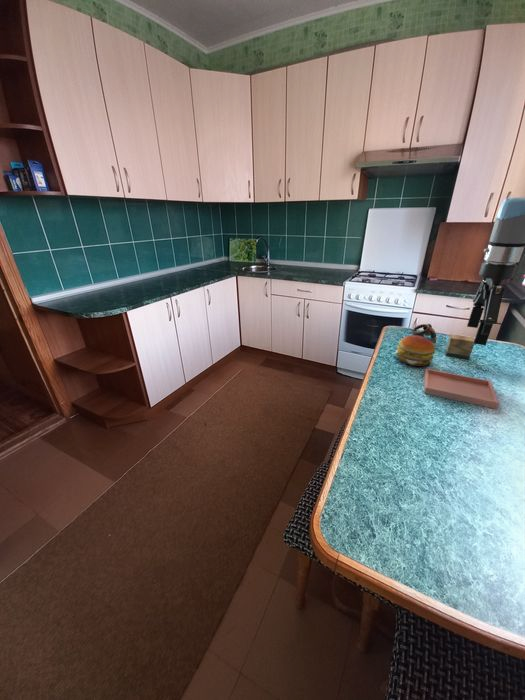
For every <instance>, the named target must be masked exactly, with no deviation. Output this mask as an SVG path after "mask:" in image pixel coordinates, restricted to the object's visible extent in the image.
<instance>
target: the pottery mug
mask: <svg viewBox="0 0 525 700" xmlns="http://www.w3.org/2000/svg"><path fill="white" fill-rule="evenodd" d="M420 329H422V331H418V330H420ZM411 332H412V334H411V336H415V335H416V336H422V337H425V336H429V337H430V339H432V340H433V344H436V343H437V334H436V331H435V329H434V328H433V326H432V324H430V323H422V324H418V325H416V326H415V327H413V329H412V330H411Z"/></svg>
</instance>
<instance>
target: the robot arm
mask: <svg viewBox="0 0 525 700" xmlns="http://www.w3.org/2000/svg"><path fill="white" fill-rule="evenodd" d="M524 249H525V196H524V197H523V196H521V197H507V198H505V199H504V200H502V202H501V203H500V206H499V208H498V210H497V214H496V216H495V220H494V224H493V226H492V230H491V234H490V238H489V240H488V245H487V248H484V249H483V253H484V257H483V260H484V261H483V262H482V263H481V266H480V269H479V272H478V274H479V276H480V278H482V280H481V282H480V285H479V287H478V289H477V291H476V293H475V296H474V298H473V299H472V302H473V303H472V305H473V307H472V309H471V312H470V315H469V318H468V322H467V325H466V327H467V328H473V329H477V331H476V334H475V337H474V345H480V346H486V345H487V343H488V339H489V337H490V334H491V331H492V328H493V326H494V325H497V323H498V318H499V314H500V310H501V306H502V305H501V304H502V300H503V295H504V292H505V290H506V286H505V285H502V284H503V281H504V280H511V279H513V278H514V276H515V273H516V270H517V268H518V265H517V263H519V262H520V260H521V257H522V254H523V252H524Z"/></svg>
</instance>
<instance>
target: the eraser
mask: <svg viewBox="0 0 525 700" xmlns="http://www.w3.org/2000/svg"><path fill="white" fill-rule="evenodd" d="M474 340H475V337H474V336H469V335H468V336H466V335H459V334H452V333H450V334H449V337H448V341H447V343H446V346H445V347H446V348H445V351H444V352H445V356H446V357H450V358H457V359H463V360H467V361H469V360H470V358H471V354H472V352H473V349H474V346H475V344H474Z"/></svg>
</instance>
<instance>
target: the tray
mask: <svg viewBox="0 0 525 700" xmlns="http://www.w3.org/2000/svg"><path fill="white" fill-rule="evenodd" d="M423 375H424V376H423V394H427V395H431V396H436V397H439V398H445V399H448V400H453V401H458V402H462V403H467V404H471V405H476V406H481V407H483V408H484V407H485V408H488V409H489V408H490V409H494V410H497V409H498V407H499V405H500V402H499V399H498V397H497V394H496V391H495V388H494V386H493V383H492V380H489V379H483V378H478V377H473V376H469V375H463V374H457V373H452V372H447V371H442V370H436V369H431V368H425V369H424V374H423Z"/></svg>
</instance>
